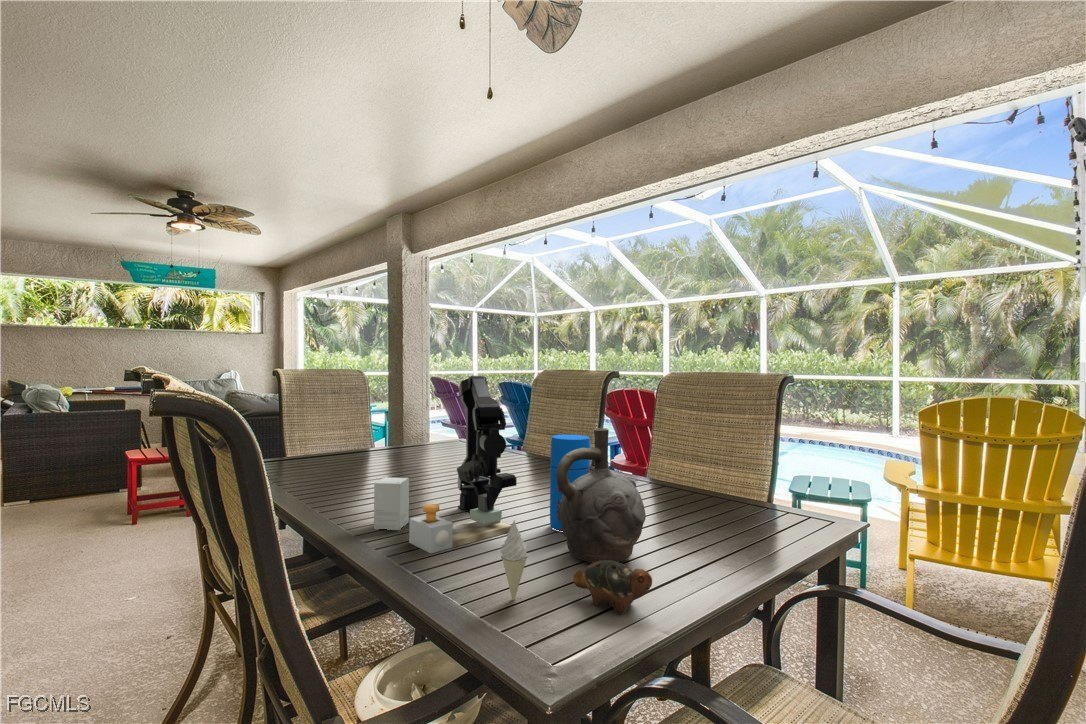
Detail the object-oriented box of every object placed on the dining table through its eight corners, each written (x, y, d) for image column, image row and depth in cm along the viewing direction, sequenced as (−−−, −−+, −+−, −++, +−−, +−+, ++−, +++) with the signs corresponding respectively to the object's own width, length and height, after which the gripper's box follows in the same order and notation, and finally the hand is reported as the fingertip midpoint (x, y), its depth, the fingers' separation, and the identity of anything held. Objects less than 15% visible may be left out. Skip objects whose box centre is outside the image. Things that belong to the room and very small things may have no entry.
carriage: (487, 514, 142) (488, 491, 142) (501, 519, 138) (501, 495, 138) (470, 519, 138) (470, 494, 138) (483, 524, 133) (484, 499, 134)
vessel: (616, 588, 103) (618, 438, 103) (529, 563, 115) (531, 429, 116) (663, 553, 123) (664, 428, 123) (584, 535, 135) (586, 421, 136)
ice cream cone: (500, 593, 99) (501, 516, 100) (526, 593, 100) (527, 516, 100) (500, 605, 94) (501, 524, 95) (527, 605, 95) (528, 523, 95)
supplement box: (409, 522, 144) (410, 477, 144) (399, 531, 136) (400, 483, 136) (383, 521, 144) (384, 476, 144) (372, 529, 137) (373, 482, 137)
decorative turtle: (646, 625, 88) (647, 579, 88) (564, 608, 94) (564, 564, 94) (657, 602, 97) (657, 560, 97) (581, 588, 103) (581, 548, 103)
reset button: (433, 519, 129) (433, 503, 129) (442, 522, 126) (442, 506, 126) (419, 522, 126) (419, 506, 126) (428, 526, 123) (428, 509, 123)
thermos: (543, 530, 139) (545, 438, 139) (557, 519, 148) (559, 433, 149) (582, 536, 134) (583, 440, 135) (593, 524, 144) (595, 436, 145)
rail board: (488, 522, 145) (489, 513, 145) (511, 531, 138) (512, 521, 138) (430, 537, 132) (430, 526, 132) (452, 547, 124) (452, 536, 124)
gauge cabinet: (430, 537, 132) (430, 513, 132) (452, 547, 124) (453, 523, 124) (409, 542, 127) (409, 518, 127) (431, 553, 120) (431, 528, 120)
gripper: (442, 448, 139) (441, 506, 139) (484, 458, 126) (483, 522, 125) (475, 444, 147) (474, 499, 147) (518, 453, 133) (517, 513, 133)
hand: (485, 508), depth 138 cm, fingers closed on carriage, 3 cm apart
